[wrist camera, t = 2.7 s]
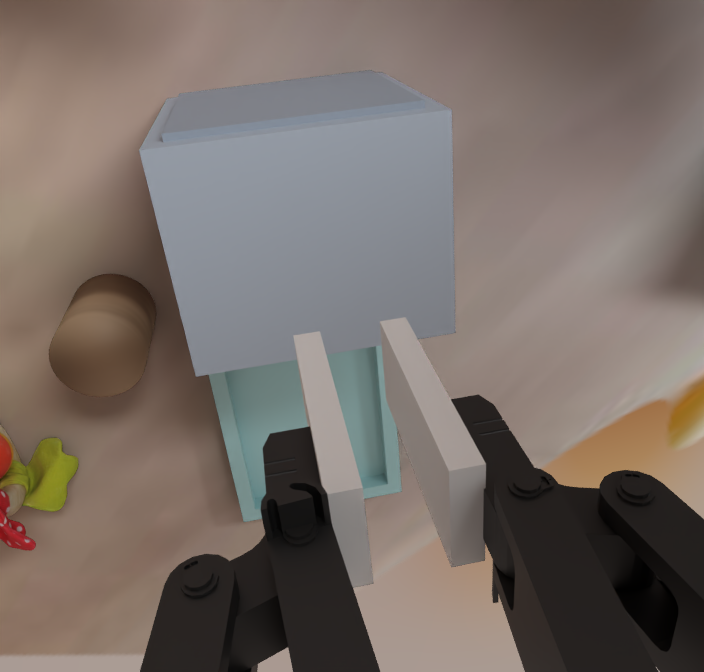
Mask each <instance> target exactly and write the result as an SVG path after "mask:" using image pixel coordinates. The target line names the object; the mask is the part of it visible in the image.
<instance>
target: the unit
mask: <svg viewBox="0 0 704 672" xmlns="http://www.w3.org/2000/svg"><path fill="white" fill-rule="evenodd" d="M139 152H140V156H141V160H142V164H143V168H144V172H145V176H146V180H147V184H148V188H149V192H150V196H151V200H152V204H153V208H154V212H155V216H156V220H157V224H158V228H159V232H160V236H161V240H162V244H163V248H164V252H165V256H166V260H167V264H168V268H169V272H170V276H171V279H172V283H173V287H174V291H175V295H176V299H177V303H178V307H179V311H180V315H181V319H182V323H183V327H184V331H185V335H186V339H187V343H188V347H189V351H190V355H191V359H192V363H193V367H194V371H195V375H196V377H197V376H203V375H209V374H215V373H221V372H227V371H233V370H239V369H245V368H250V367H256V366H262V365H268V364H274V363H280V362H286V361H292V360H297V356H296V350H295V344H294V337H293V335H300V334H306V333H312V332H318V331H320V334H321V337H322V341H323V345H324V348H325V352H326V355H328V354H334V353H339V352H345V351H351V350H357V349H363V348H369V347H375V346H381V345H382V343H381V331H380V321H385V320H391V319H397V318H403V317H406V319H407V321H408V322H409V324H410V326H411V328H412V330H413V332H414V333H415V335H416V337H417V339H423V338H428V337H434V336H440V335H446V334H452V333H455V276H454V216H453V155H452V109H450V108H448V107H446V106H444V105H442V104H441V103H439V102H437V101H435V100H433V99H431V98H429V97H427V96H426V95H424V94H422V93H420V92H418V91H416V90H414V89H412V88H411V87H409V86H407V85H405V84H403V83H401V82H399V81H397V80H396V79H394V78H392V77H390V76H388V75H386V74H384V73H382V72H379V73H375V72H373V71H372V70H368V71H359V72H351V73H343V74H335V75H327V76H319V77H310V78H302V79H294V80H286V81H278V82H270V83H262V84H253V85H245V86H237V87H229V88H221V89H213V90H204V91H196V92H188V93H180V94H179V96H178V97H176V98H168V99H166V101H165V103H164V105H163V107H162V109H161V111H160V112H159V114H158V116H157V118H156V120H155V122H154V124H153V125H152V127H151V129H150V131H149V133H148V135H147V137H146V138H145V140H144V142H143V144H142V146H141V148H140V150H139Z"/></svg>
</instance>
